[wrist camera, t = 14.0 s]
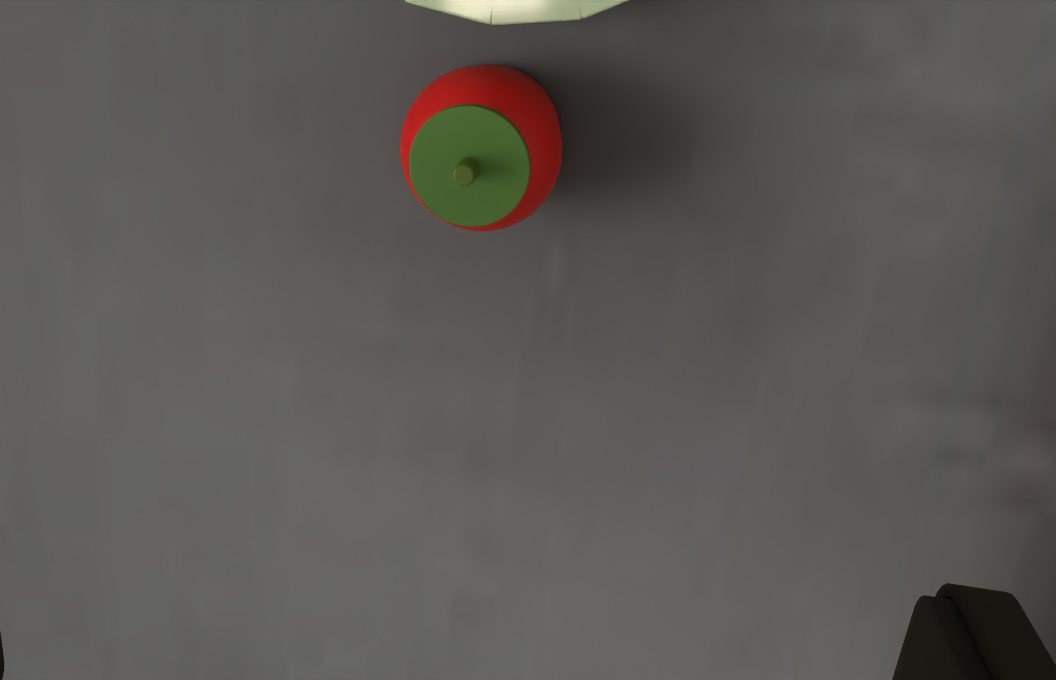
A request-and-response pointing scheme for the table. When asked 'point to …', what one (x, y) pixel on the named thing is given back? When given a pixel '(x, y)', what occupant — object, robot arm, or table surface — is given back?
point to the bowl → (518, 9)
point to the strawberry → (482, 147)
